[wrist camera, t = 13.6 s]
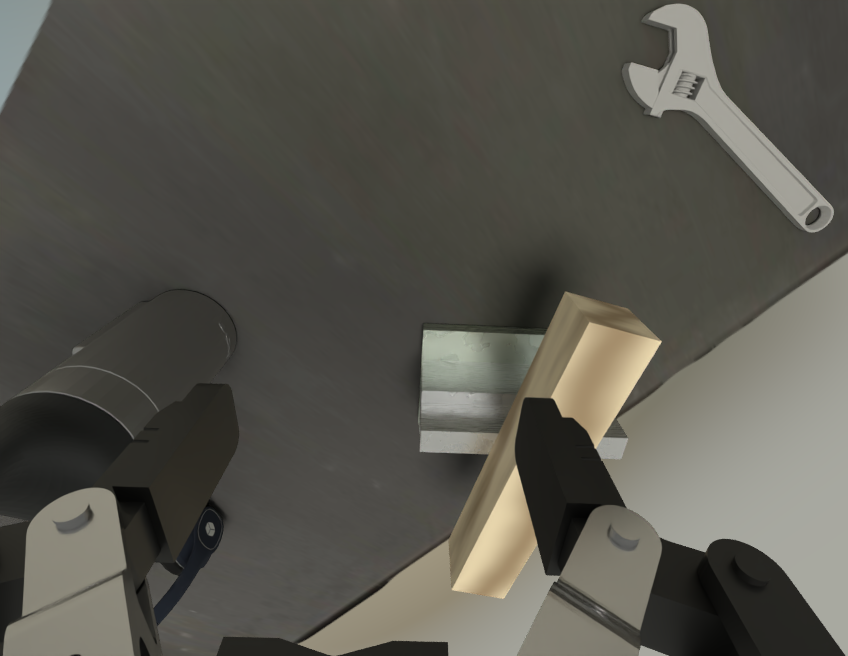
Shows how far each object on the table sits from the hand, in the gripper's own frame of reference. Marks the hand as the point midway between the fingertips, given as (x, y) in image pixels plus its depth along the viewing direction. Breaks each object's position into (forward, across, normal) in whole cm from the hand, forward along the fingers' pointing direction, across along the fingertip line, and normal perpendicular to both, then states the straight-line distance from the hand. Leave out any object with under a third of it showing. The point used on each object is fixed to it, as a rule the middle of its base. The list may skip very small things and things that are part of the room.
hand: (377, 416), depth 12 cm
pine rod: (+19, -11, +18) cm, 28 cm away
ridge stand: (+30, -11, +18) cm, 37 cm away
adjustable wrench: (+31, -27, -7) cm, 41 cm away
